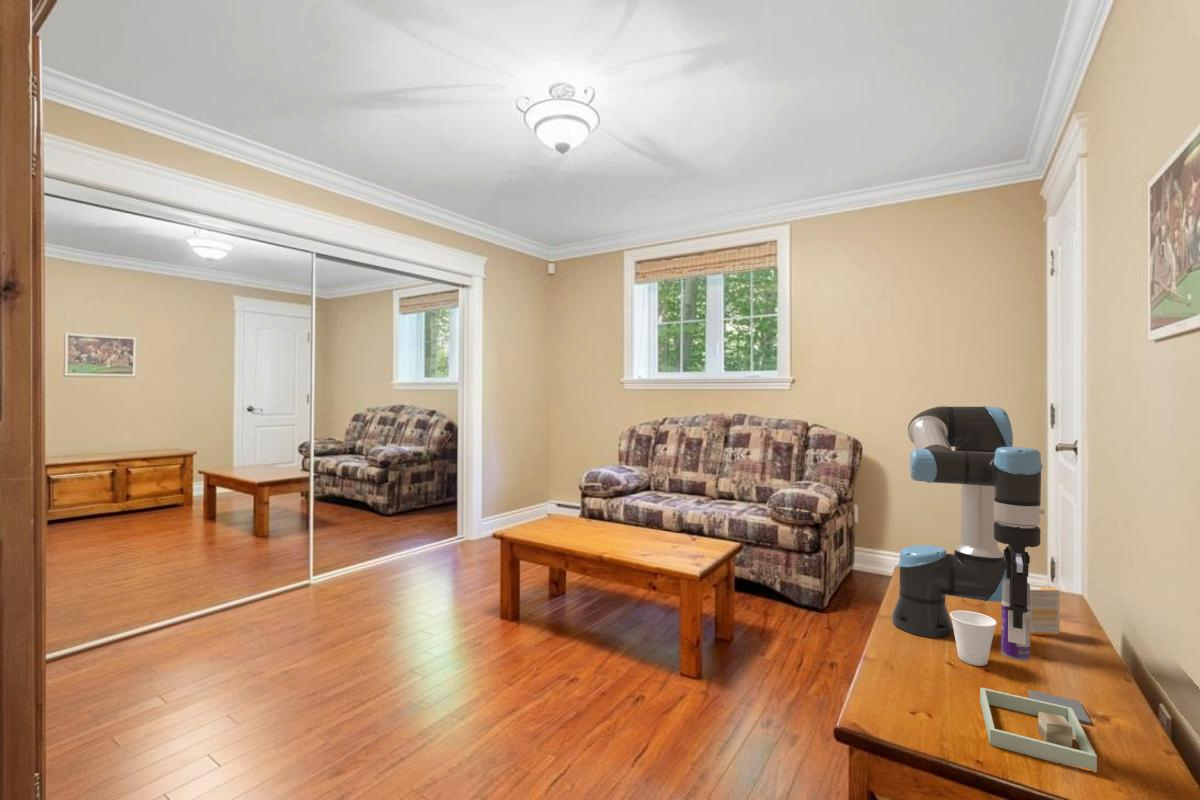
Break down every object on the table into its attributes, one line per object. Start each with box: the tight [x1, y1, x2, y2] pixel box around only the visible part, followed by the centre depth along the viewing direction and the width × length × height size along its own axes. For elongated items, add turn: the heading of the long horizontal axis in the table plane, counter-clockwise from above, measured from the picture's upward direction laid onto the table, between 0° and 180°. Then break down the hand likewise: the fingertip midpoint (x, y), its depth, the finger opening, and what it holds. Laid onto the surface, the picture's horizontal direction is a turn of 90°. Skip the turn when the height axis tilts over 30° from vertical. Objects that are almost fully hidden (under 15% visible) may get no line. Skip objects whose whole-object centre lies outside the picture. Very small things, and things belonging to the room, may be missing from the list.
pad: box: [1027, 689, 1092, 726], centre depth 117 cm, size 9×9×1 cm
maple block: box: [1037, 712, 1073, 748], centre depth 107 cm, size 4×4×4 cm
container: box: [1000, 579, 1031, 662], centre depth 110 cm, size 5×5×15 cm
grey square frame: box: [979, 687, 1098, 772], centre depth 108 cm, size 16×18×3 cm
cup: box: [949, 609, 998, 667], centre depth 138 cm, size 10×10×11 cm
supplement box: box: [1029, 583, 1061, 637], centre depth 155 cm, size 8×5×13 cm, turn 84°
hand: (1015, 637), depth 110 cm, fingers closed on container, 5 cm apart
